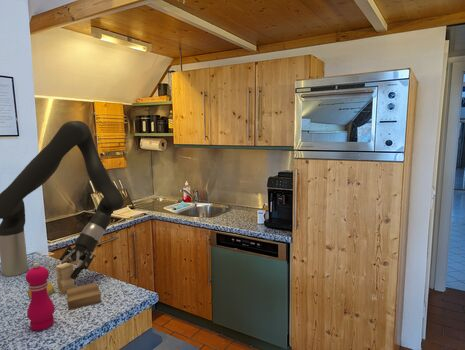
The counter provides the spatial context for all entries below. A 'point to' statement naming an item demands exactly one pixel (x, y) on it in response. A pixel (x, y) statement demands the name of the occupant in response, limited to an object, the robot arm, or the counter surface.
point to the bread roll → (49, 289)
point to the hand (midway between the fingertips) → (65, 276)
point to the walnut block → (83, 295)
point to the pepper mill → (39, 298)
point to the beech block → (64, 277)
